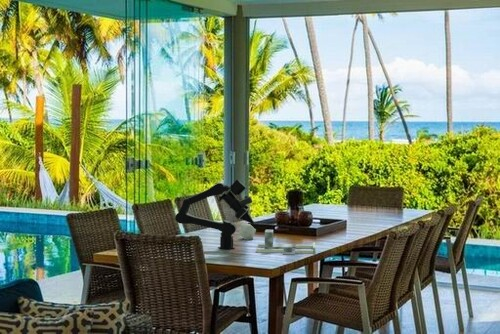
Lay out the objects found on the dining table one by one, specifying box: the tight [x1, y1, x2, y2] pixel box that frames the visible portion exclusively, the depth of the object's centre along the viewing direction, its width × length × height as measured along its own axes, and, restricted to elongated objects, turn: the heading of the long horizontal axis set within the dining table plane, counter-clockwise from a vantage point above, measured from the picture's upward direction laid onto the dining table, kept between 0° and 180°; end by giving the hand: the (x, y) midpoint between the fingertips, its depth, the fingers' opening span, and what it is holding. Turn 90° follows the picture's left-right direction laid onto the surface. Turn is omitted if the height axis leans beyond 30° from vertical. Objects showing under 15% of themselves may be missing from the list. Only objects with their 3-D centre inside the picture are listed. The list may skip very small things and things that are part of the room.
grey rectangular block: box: [264, 229, 293, 252], centre depth 454 cm, size 14×10×10 cm
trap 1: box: [282, 251, 296, 256], centre depth 442 cm, size 6×6×1 cm
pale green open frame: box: [255, 242, 316, 254], centre depth 454 cm, size 30×18×3 cm, turn 86°
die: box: [238, 223, 257, 240], centre depth 493 cm, size 8×9×10 cm
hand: (253, 223), depth 454 cm, fingers closed
